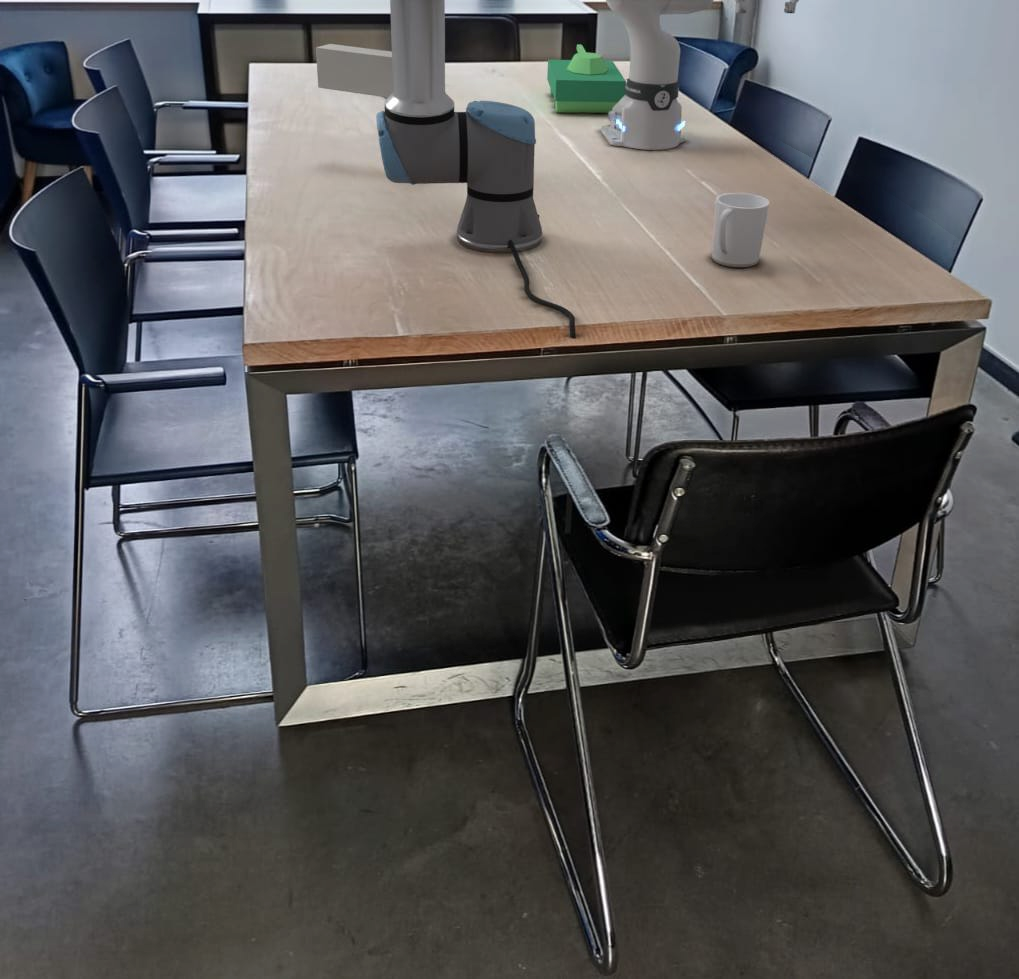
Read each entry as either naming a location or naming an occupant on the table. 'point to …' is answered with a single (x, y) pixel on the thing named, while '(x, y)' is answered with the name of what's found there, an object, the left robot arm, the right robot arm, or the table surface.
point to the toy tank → (585, 83)
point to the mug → (739, 229)
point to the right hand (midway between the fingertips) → (764, 12)
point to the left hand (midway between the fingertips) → (416, 94)
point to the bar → (355, 70)
